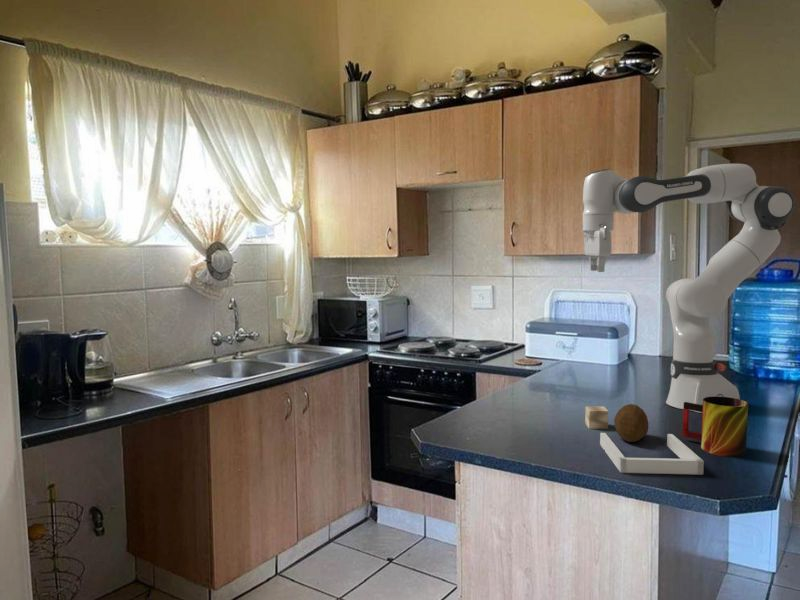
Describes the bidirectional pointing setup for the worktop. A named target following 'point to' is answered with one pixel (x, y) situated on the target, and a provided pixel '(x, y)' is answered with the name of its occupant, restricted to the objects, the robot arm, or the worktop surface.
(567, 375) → the worktop surface
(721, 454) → the mug
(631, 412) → the potato
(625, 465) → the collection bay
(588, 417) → the beech block
